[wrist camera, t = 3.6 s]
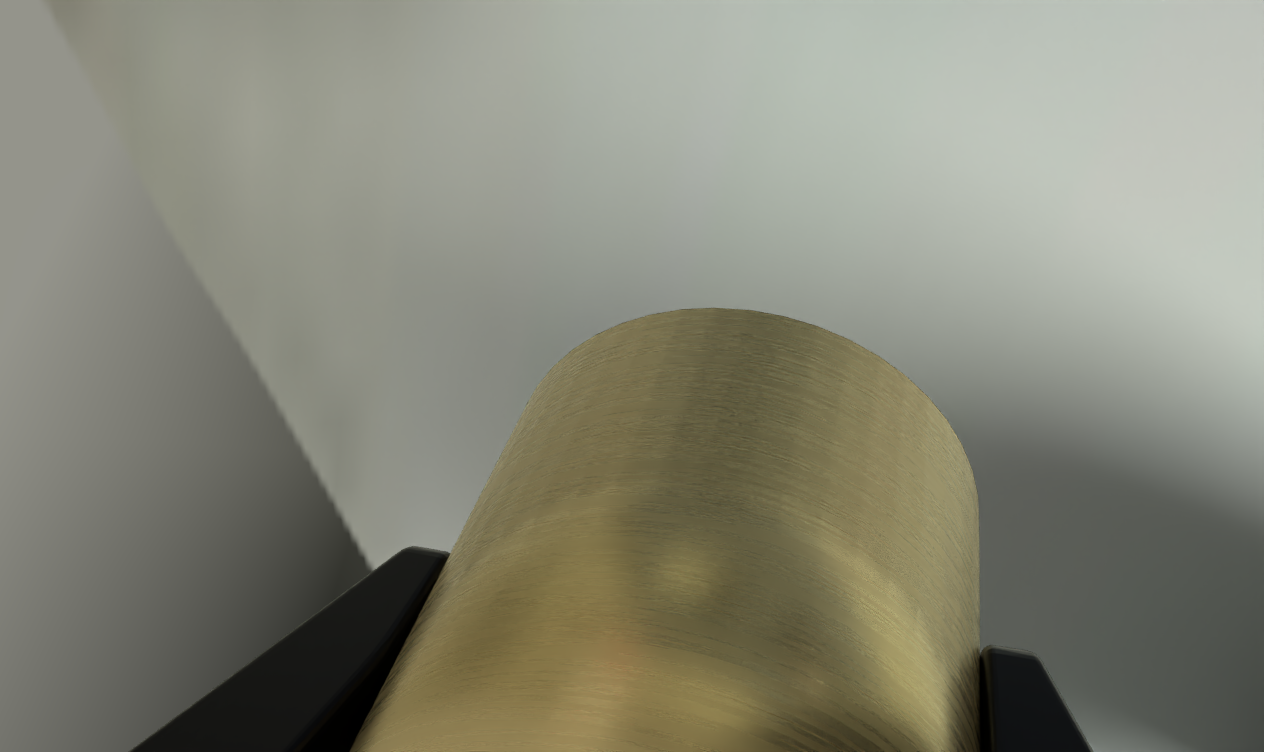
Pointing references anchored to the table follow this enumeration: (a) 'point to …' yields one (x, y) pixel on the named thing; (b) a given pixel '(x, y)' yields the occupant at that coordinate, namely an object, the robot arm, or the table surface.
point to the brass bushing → (706, 559)
